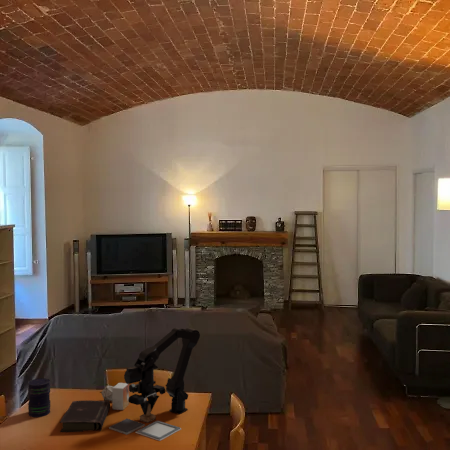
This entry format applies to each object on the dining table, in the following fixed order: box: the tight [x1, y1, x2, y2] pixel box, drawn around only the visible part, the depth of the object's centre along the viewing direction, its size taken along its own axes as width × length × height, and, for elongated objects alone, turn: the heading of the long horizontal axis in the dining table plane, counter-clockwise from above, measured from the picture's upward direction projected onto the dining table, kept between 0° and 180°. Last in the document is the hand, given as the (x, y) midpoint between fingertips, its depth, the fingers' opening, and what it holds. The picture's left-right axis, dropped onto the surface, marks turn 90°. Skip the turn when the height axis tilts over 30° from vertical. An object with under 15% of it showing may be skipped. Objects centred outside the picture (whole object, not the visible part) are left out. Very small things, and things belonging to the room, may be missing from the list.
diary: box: [59, 399, 111, 433], centre depth 239 cm, size 19×25×5 cm
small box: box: [111, 382, 130, 411], centre depth 254 cm, size 8×6×10 cm
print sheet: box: [134, 420, 182, 441], centre depth 228 cm, size 14×14×1 cm
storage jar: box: [27, 377, 52, 418], centre depth 247 cm, size 10×10×15 cm
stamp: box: [139, 403, 156, 424], centre depth 239 cm, size 5×5×7 cm
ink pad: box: [108, 418, 146, 435], centre depth 231 cm, size 11×11×1 cm
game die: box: [99, 384, 117, 402], centre depth 262 cm, size 9×8×10 cm
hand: (147, 413), depth 239 cm, fingers closed on stamp, 3 cm apart
